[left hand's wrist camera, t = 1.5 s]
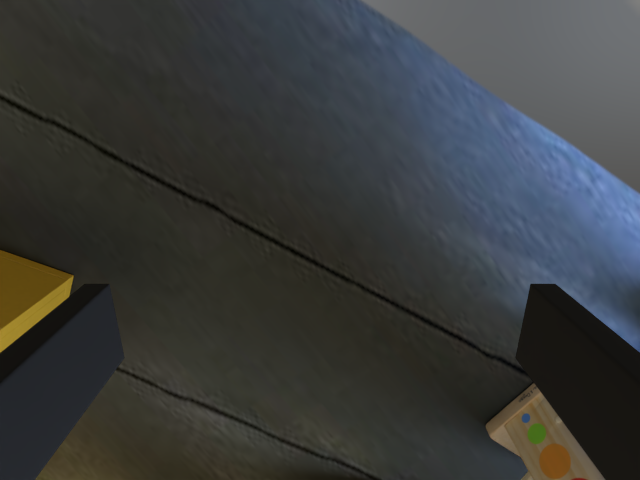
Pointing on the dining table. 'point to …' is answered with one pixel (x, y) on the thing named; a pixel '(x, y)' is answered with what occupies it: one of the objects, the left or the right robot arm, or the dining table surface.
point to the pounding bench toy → (541, 440)
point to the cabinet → (27, 294)
